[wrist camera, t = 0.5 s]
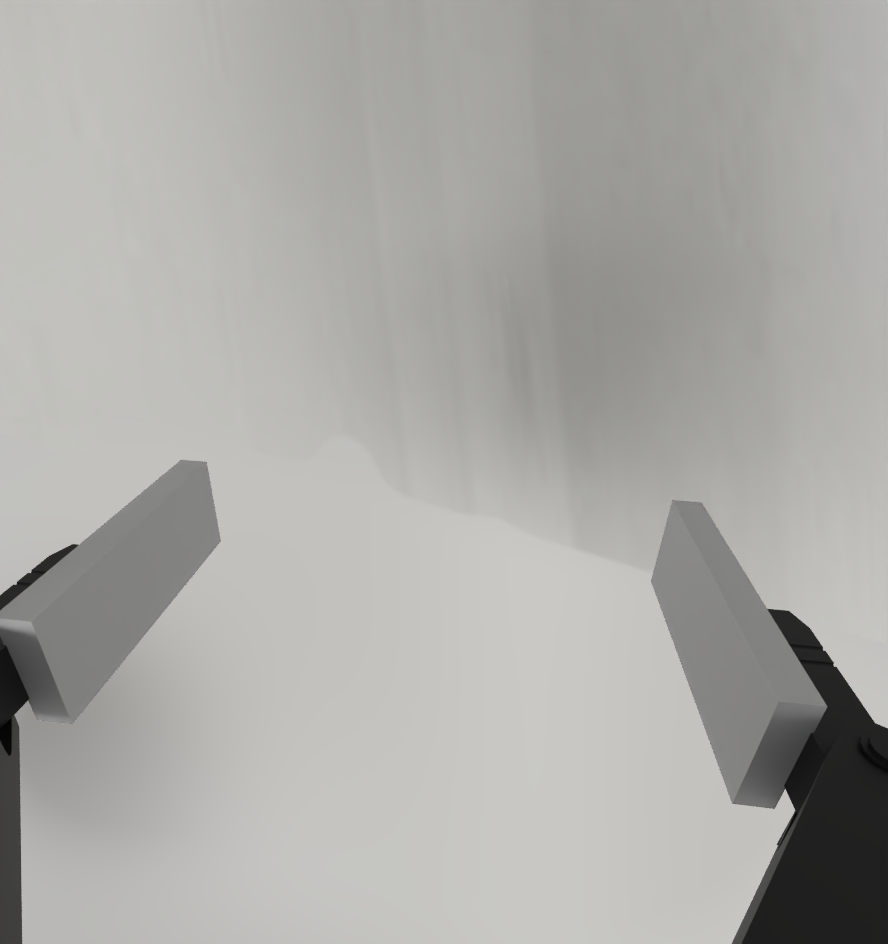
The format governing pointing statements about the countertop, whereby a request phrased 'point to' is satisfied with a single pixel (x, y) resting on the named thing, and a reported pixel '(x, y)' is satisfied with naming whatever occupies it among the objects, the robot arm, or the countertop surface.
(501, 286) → the countertop surface
